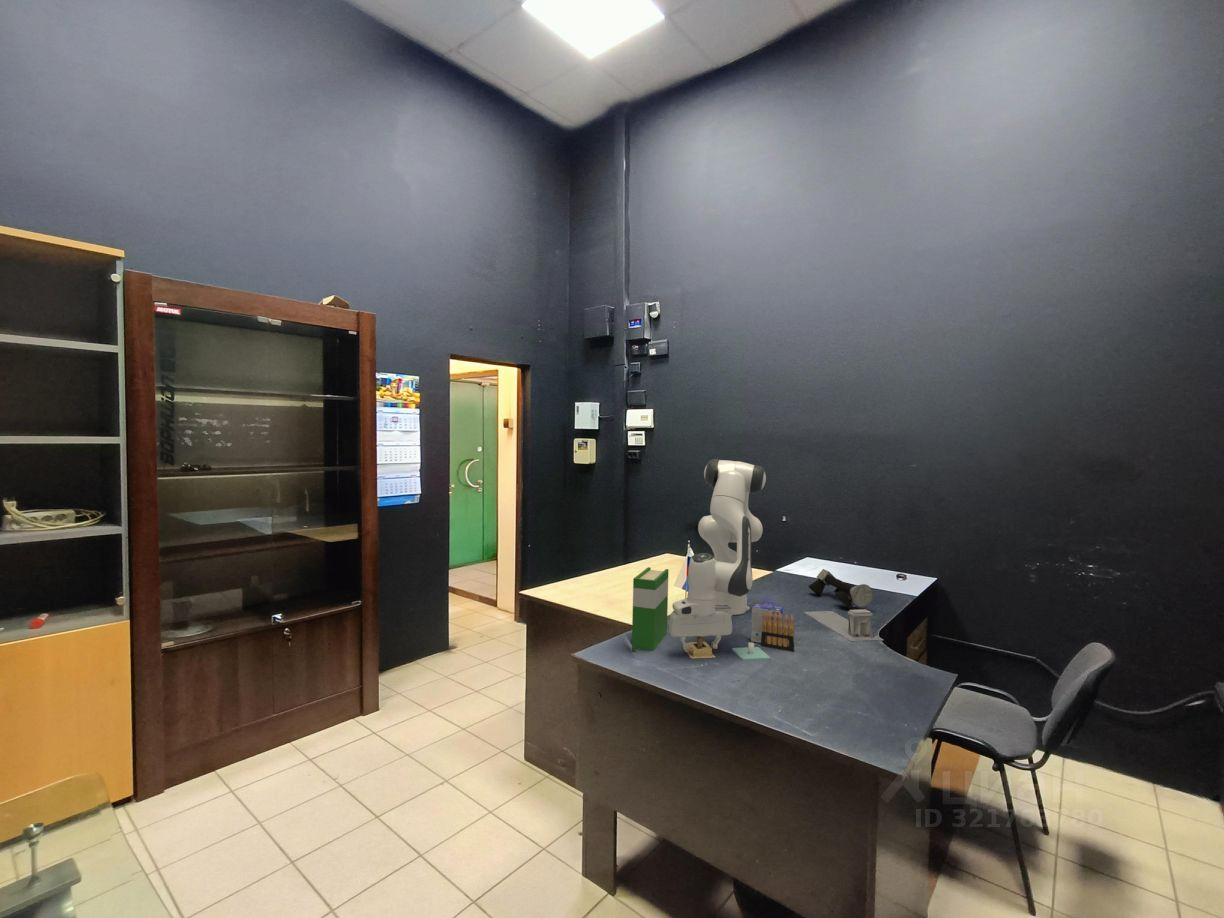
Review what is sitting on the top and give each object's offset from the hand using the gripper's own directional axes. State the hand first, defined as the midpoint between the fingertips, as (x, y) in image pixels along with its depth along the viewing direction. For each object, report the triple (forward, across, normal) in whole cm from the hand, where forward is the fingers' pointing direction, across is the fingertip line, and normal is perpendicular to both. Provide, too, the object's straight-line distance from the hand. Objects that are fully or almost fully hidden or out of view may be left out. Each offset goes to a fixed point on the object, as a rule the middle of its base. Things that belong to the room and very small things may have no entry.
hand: (700, 648), depth 176 cm
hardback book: (+3, +13, -13) cm, 19 cm away
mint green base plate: (+3, -16, +3) cm, 16 cm away
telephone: (+3, -82, -53) cm, 98 cm away
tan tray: (+1, 0, 0) cm, 1 cm away
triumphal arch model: (+3, -64, -24) cm, 69 cm away
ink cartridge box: (+3, -28, -11) cm, 30 cm away
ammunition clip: (+3, -29, -5) cm, 30 cm away
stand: (+3, 0, 0) cm, 3 cm away
